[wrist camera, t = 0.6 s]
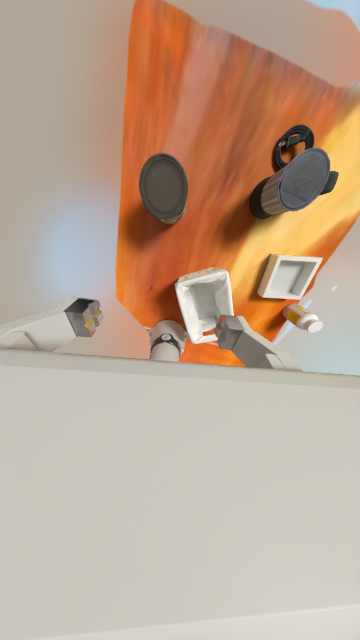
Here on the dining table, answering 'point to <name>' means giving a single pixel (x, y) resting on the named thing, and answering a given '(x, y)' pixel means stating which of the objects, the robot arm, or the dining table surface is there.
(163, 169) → the coffee can
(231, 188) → the dining table surface
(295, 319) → the supplement bottle
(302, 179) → the milk frother
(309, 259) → the box
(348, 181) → the dining table surface
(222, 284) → the storage basket
